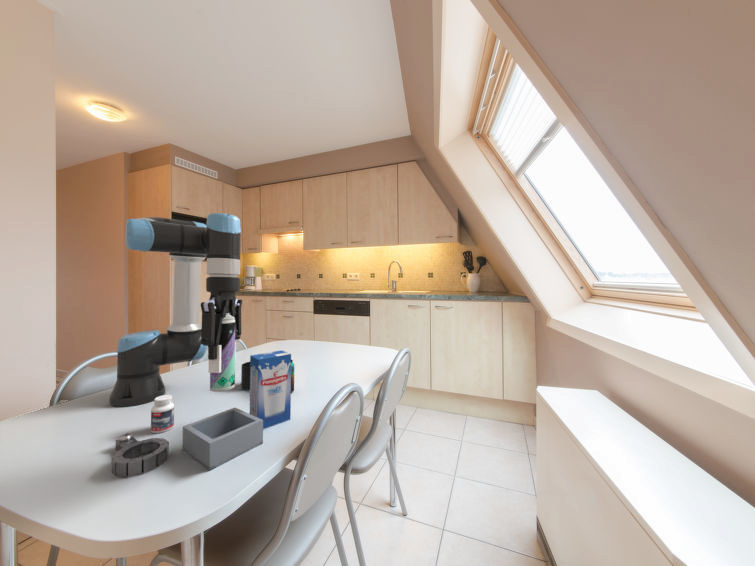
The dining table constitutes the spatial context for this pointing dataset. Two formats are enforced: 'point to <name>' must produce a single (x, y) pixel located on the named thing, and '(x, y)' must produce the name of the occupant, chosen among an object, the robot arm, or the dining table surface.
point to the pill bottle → (162, 414)
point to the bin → (222, 437)
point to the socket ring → (138, 455)
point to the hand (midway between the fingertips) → (222, 368)
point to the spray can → (225, 357)
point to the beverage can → (292, 376)
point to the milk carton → (270, 387)
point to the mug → (245, 376)
